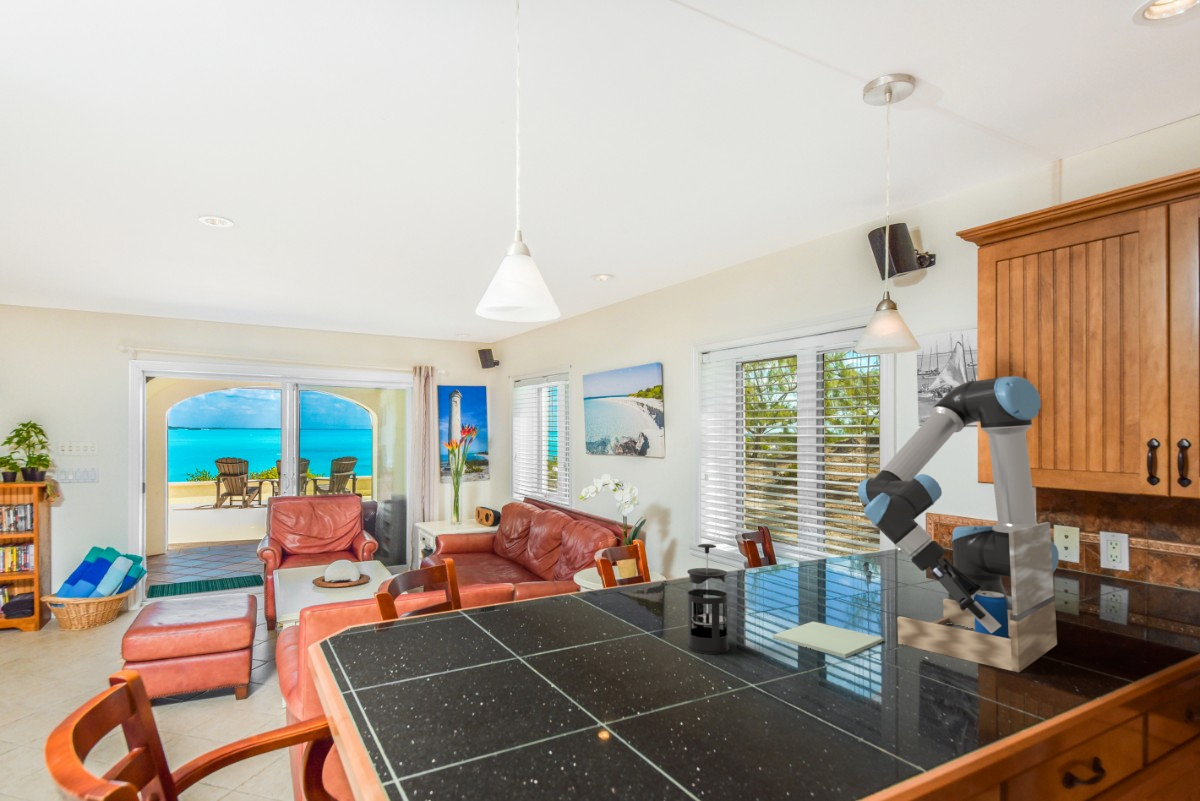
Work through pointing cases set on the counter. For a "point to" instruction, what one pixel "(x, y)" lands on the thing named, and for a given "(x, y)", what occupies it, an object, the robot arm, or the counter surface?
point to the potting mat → (828, 639)
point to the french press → (700, 636)
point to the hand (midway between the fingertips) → (997, 622)
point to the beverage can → (993, 612)
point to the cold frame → (1025, 621)
